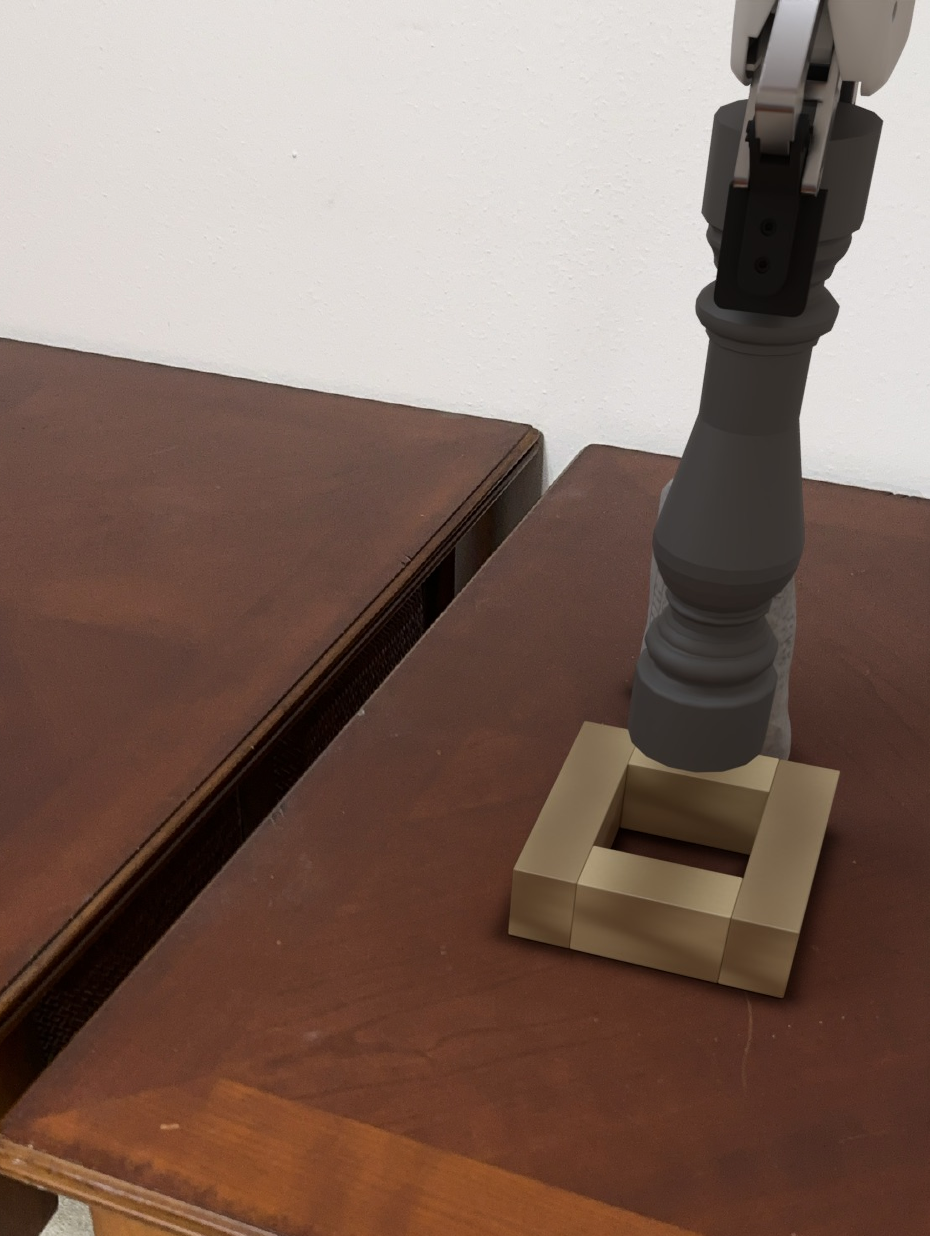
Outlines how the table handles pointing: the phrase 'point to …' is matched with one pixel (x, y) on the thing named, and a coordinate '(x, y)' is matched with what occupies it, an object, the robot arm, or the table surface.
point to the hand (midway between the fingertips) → (774, 274)
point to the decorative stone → (784, 631)
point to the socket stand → (668, 892)
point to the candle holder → (740, 484)
